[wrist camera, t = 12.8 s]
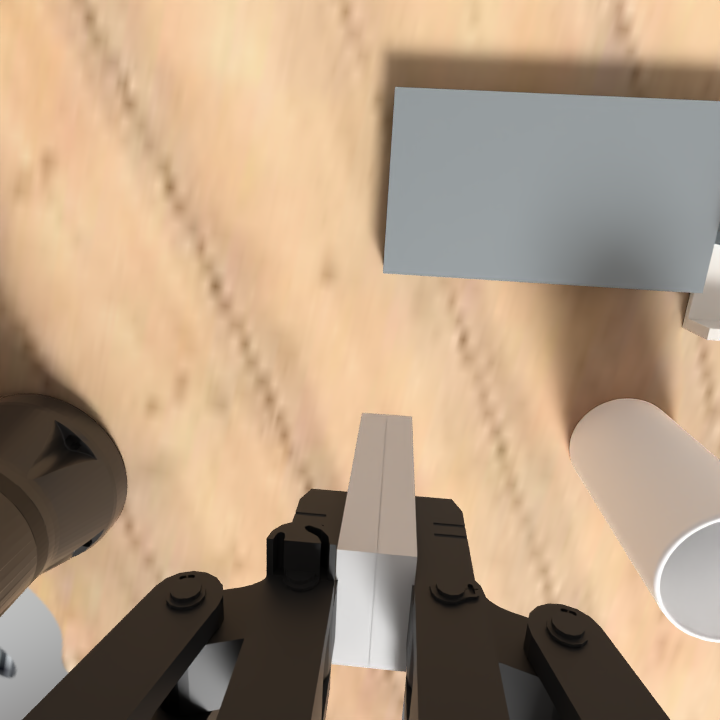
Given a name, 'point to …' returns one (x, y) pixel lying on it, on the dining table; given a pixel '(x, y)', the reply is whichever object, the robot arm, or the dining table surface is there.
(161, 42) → the dining table surface
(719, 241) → the blue tile
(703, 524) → the cup
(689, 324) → the box
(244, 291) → the dining table surface
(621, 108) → the board
